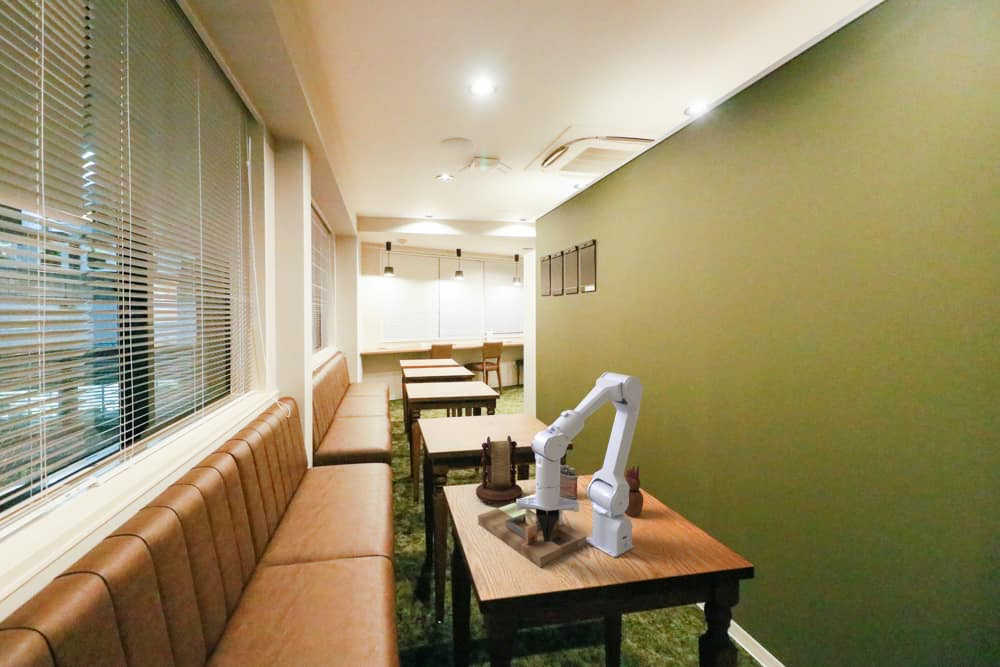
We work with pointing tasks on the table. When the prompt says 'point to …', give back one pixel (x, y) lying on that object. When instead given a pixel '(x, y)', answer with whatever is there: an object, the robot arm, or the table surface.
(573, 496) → the lighter
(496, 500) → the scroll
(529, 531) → the carriage
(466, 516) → the table surface
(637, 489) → the wooden figurine
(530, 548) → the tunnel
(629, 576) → the table surface
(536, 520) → the block
